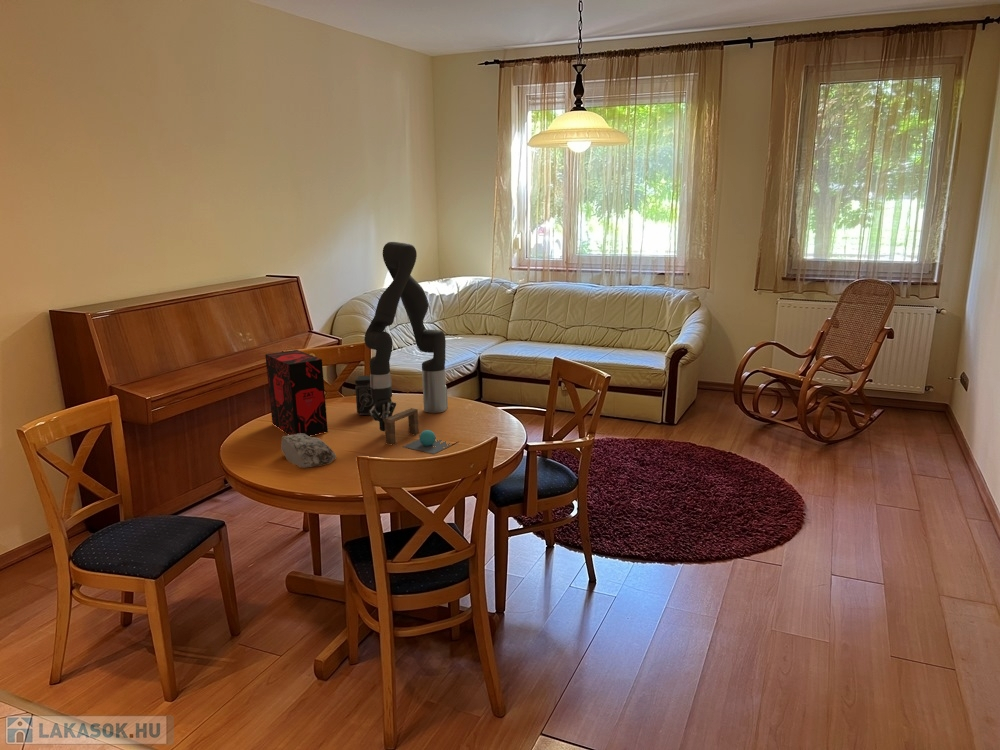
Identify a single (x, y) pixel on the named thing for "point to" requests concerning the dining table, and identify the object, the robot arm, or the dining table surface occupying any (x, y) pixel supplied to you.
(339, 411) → the dining table surface
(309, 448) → the decorative stone
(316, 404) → the box
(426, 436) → the ball
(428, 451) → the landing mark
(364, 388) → the camera
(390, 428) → the bridge
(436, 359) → the robot arm
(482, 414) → the dining table surface
